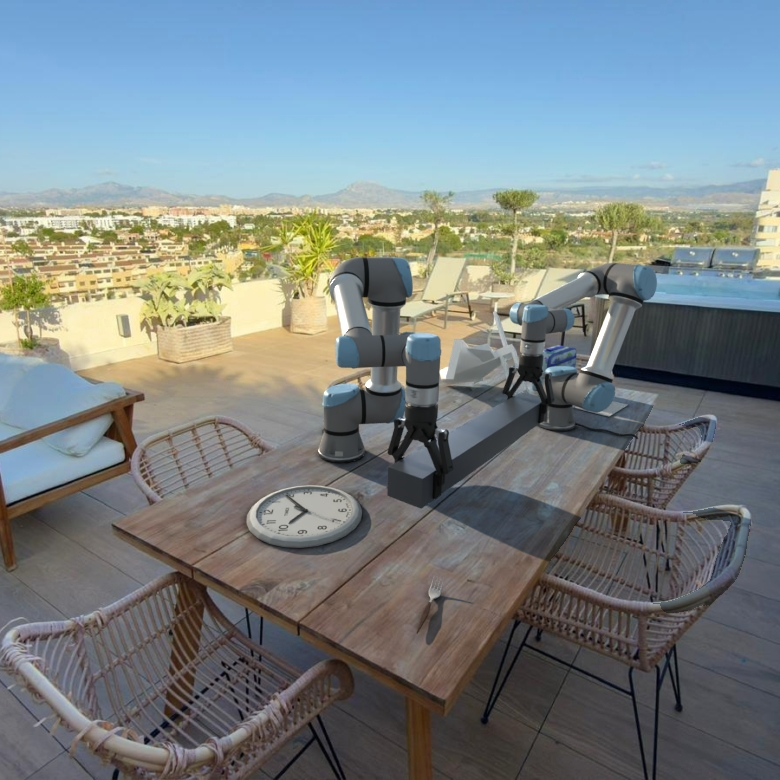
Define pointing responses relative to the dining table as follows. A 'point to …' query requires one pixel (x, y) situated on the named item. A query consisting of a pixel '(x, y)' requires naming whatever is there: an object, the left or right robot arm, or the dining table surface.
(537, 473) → the dining table surface
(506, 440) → the wide beam
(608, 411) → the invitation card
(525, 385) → the white plastic object
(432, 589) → the fork
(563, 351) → the lunch box
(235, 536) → the dining table surface
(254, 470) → the dining table surface
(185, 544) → the dining table surface
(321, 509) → the wall clock
